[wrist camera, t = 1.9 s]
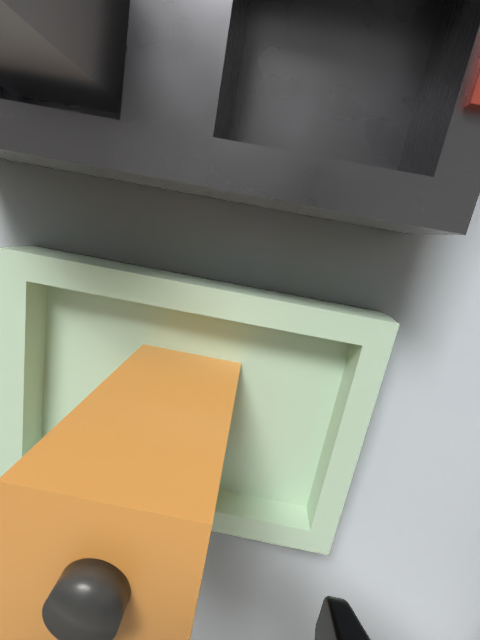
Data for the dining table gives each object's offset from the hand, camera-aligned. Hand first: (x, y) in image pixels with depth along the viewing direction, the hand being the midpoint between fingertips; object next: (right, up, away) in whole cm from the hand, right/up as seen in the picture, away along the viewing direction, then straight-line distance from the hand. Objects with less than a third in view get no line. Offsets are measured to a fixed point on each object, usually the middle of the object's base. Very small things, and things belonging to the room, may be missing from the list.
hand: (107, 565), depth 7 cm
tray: (0, +2, +8) cm, 8 cm away
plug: (0, +2, +7) cm, 8 cm away
